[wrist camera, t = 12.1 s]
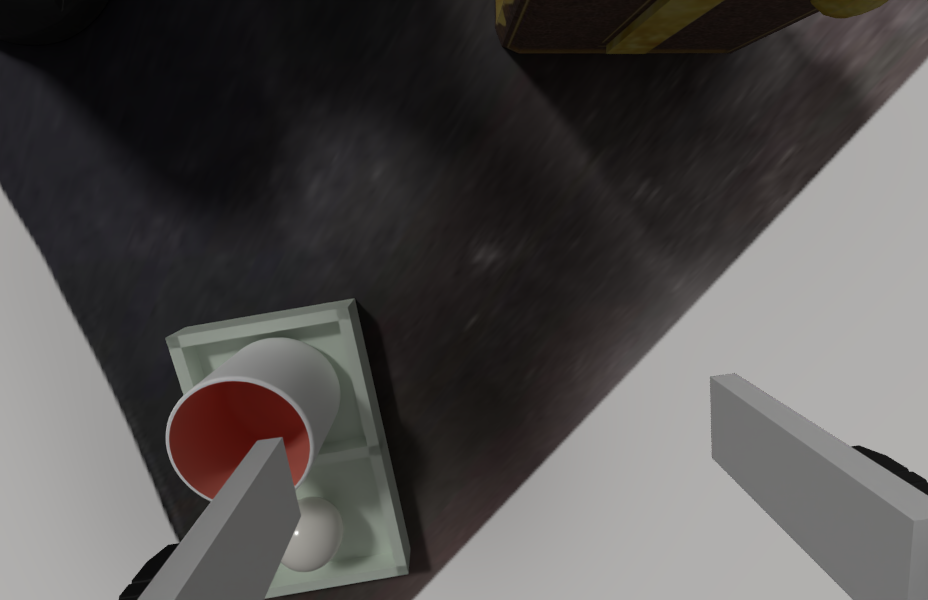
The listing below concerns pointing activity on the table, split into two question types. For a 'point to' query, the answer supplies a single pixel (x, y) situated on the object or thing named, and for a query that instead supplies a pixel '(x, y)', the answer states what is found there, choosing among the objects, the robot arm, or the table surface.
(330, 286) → the table surface
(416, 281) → the table surface
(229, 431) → the cup
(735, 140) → the table surface
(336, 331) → the holder
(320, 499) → the egg
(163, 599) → the robot arm
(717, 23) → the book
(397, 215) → the table surface
